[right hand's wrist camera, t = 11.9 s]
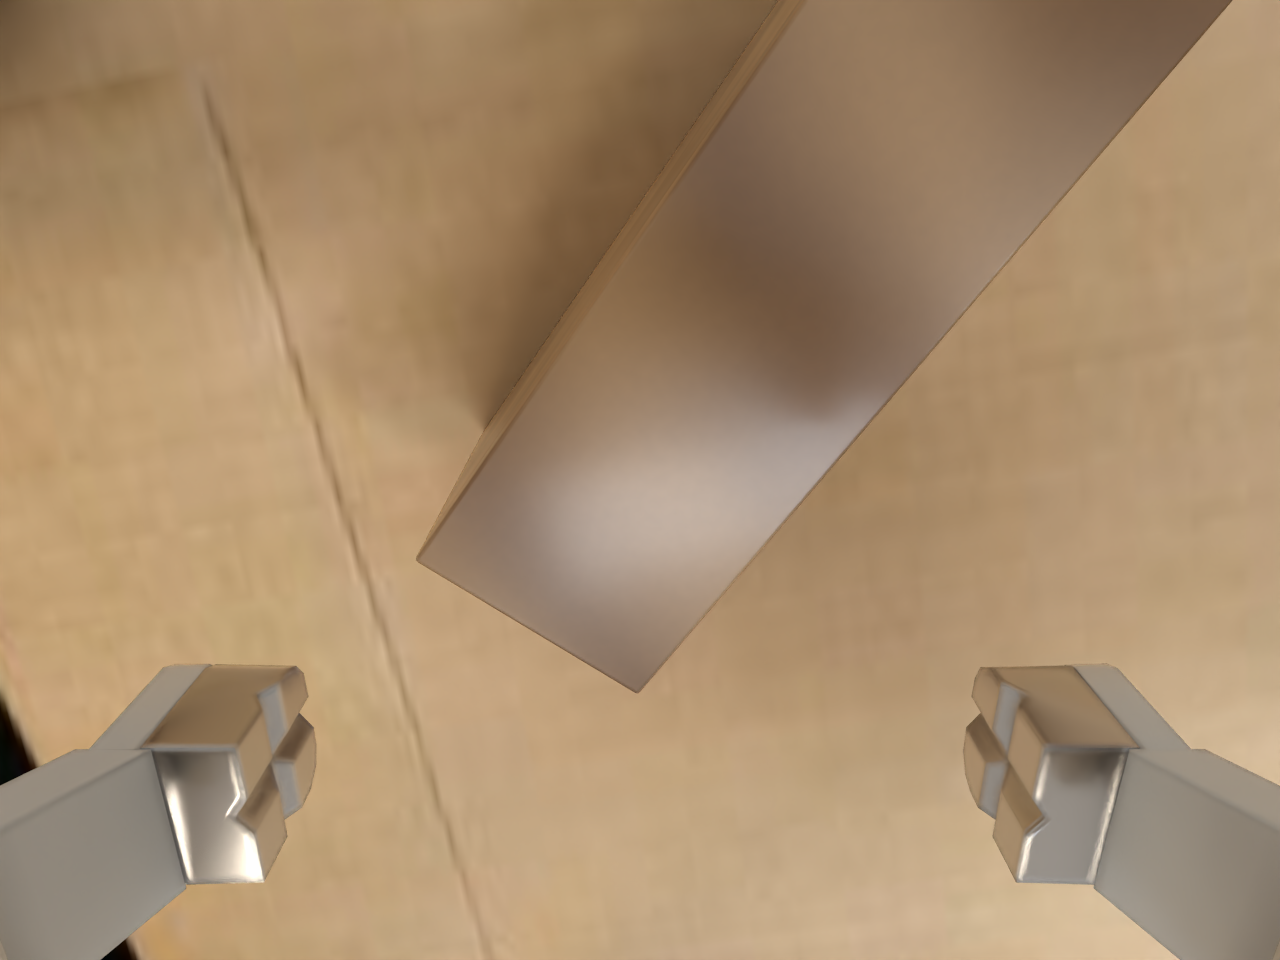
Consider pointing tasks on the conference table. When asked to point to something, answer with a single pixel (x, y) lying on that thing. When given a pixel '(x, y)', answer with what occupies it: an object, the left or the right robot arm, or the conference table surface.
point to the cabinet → (782, 298)
